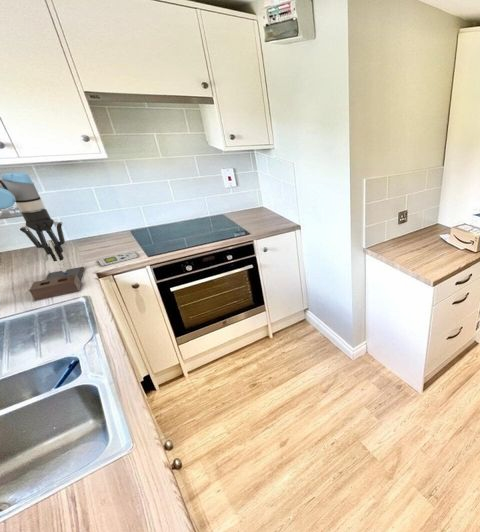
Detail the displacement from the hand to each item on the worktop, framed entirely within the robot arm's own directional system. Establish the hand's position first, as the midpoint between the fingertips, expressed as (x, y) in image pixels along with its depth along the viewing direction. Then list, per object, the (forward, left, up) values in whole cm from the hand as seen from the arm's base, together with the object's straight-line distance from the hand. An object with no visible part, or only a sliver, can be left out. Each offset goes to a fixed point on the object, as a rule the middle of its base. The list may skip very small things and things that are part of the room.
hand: (59, 259), depth 147 cm
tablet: (0, -4, -8) cm, 9 cm away
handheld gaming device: (+19, +8, -8) cm, 22 cm away
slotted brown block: (0, -18, -8) cm, 20 cm away
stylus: (0, -1, -7) cm, 7 cm away
